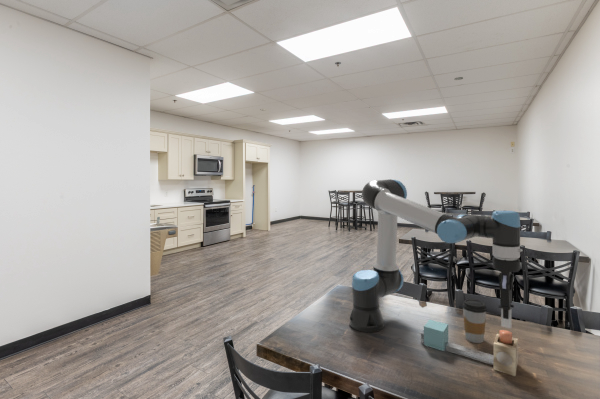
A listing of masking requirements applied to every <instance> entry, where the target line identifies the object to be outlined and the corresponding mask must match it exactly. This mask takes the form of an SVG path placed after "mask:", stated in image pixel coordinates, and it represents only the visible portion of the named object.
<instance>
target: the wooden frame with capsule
mask: <svg viewBox="0 0 600 399" xmlns="http://www.w3.org/2000/svg"><path fill="white" fill-rule="evenodd" d="M518 341H519V339H518V338H517V337H512V344H505V343H502V342H501V341H500V340H499V333H496V334H495V338H494V342H493V355H494V359H493V365H492V366H493V370H494V371H498V372H501V373H504V374H506V375H508V376H509V375H510V376H512V377H516V376H517V369H518V359H519V358H518V347H519V346H518V345H519V344H518V343H519V342H518Z"/></svg>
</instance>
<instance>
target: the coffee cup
mask: <svg viewBox="0 0 600 399" xmlns="http://www.w3.org/2000/svg"><path fill="white" fill-rule="evenodd" d="M463 300H464V301H463V303H462V310H463V311H462V312H463V326H464V335H465V338H466V340H467V341H468V342H471V343H475V344H481V343H483V342H484V341H485V333H486V321H487V320H486V316H487V310H488V309H487V306H486V303H485V302H483V301H482V300H479V299H473V298H467V299H463Z"/></svg>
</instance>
